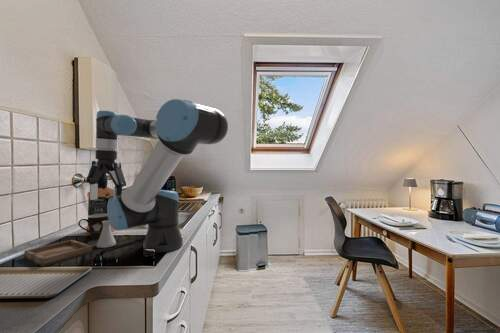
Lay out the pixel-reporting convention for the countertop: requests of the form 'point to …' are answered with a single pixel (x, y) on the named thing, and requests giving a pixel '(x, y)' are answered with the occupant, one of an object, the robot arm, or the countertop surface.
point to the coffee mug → (95, 224)
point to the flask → (106, 236)
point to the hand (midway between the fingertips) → (105, 201)
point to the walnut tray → (57, 252)
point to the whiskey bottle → (100, 199)
